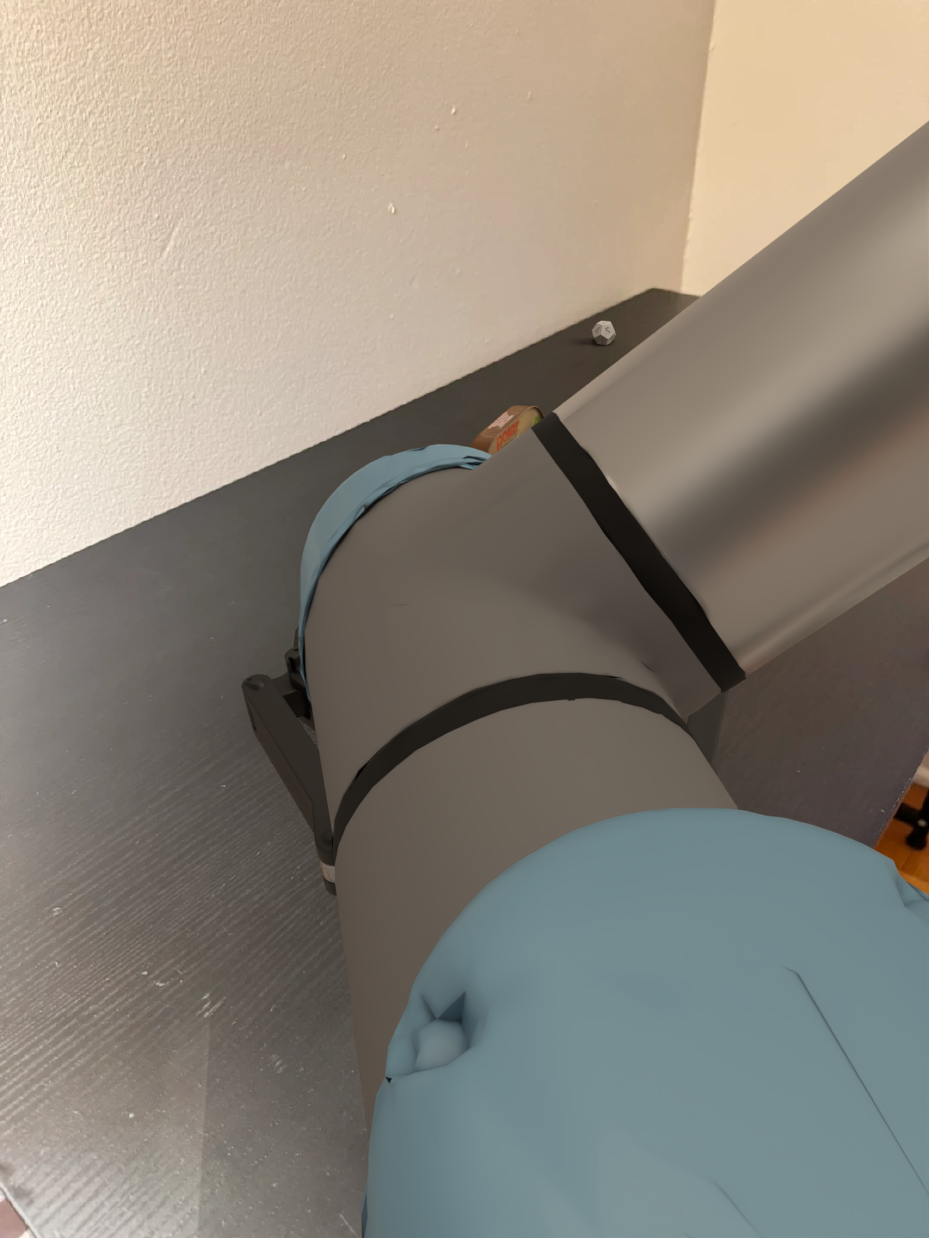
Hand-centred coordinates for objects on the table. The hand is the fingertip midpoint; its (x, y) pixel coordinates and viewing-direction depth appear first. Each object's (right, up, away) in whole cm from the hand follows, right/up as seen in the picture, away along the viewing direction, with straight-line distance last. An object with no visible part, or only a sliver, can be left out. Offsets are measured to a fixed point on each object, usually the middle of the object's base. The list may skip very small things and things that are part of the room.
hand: (474, 577), depth 41 cm
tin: (+4, +12, +52) cm, 53 cm away
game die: (+21, +40, +88) cm, 99 cm away
